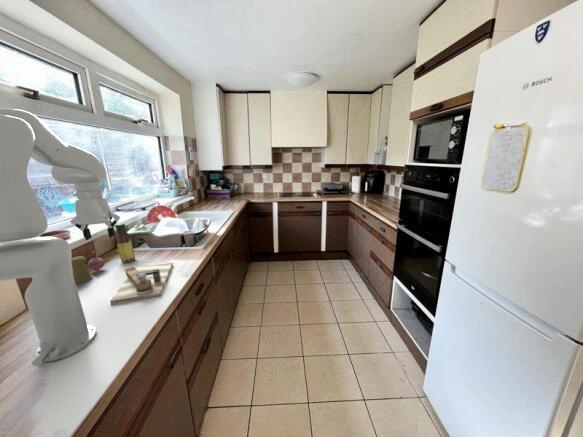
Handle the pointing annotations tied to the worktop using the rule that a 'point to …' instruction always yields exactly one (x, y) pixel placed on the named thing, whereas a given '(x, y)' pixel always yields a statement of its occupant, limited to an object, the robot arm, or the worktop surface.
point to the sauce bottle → (124, 244)
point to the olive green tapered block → (80, 270)
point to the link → (138, 279)
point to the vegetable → (96, 262)
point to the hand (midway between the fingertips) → (100, 237)
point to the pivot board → (153, 272)
